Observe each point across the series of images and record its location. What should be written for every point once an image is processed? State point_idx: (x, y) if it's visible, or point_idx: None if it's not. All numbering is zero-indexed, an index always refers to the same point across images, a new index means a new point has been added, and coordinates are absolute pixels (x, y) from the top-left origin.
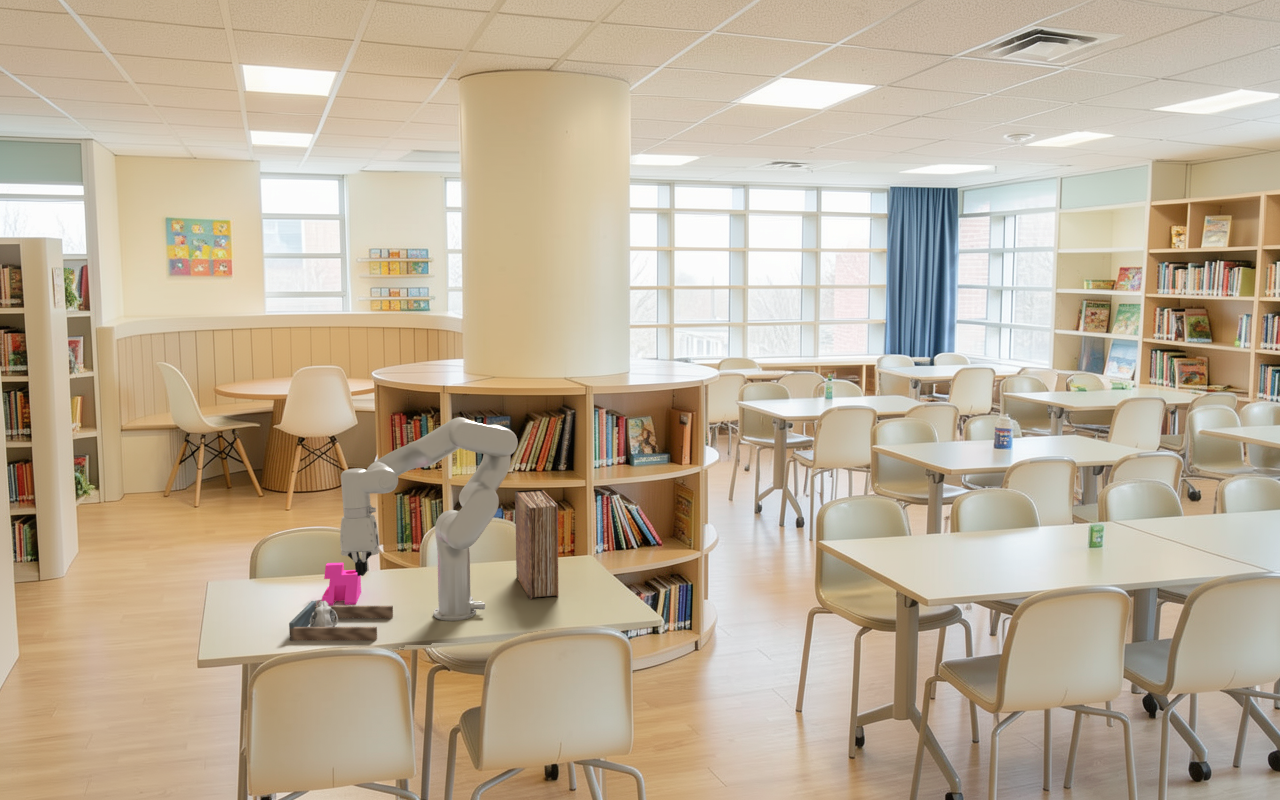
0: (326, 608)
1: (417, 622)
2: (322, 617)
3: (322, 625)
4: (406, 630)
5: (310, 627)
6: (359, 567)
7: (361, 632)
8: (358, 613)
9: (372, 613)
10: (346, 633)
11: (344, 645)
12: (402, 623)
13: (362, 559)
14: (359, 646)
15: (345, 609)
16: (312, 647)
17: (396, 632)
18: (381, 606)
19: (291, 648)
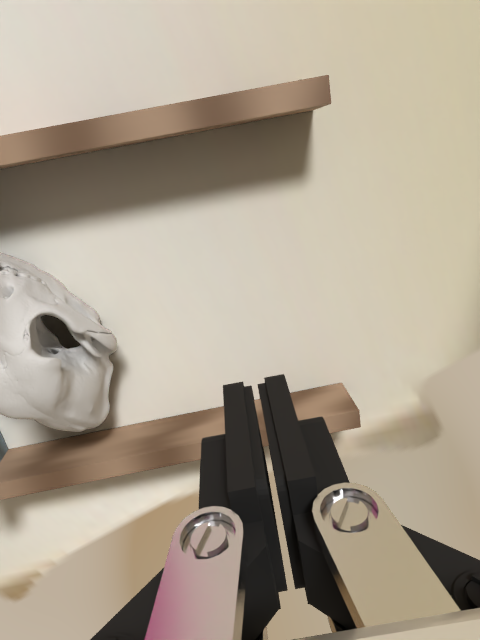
0: (45, 396)
1: (461, 150)
2: (66, 424)
3: (90, 428)
4: (434, 268)
5: (62, 478)
6: (279, 543)
7: None
8: (127, 143)
9: (208, 128)
10: None
11: None
12: (390, 179)
13: (344, 625)
14: None
15: (45, 157)
16: (133, 502)
17: (397, 299)
18: (263, 106)
19: (62, 525)
